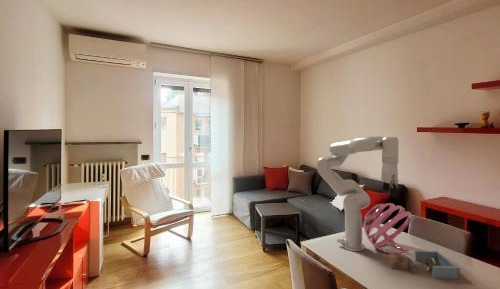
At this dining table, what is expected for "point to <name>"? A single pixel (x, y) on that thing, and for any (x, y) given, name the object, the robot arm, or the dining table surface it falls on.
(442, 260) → the box
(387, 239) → the spiral basket
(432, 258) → the eagle figurine
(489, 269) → the dining table surface
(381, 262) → the dining table surface
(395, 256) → the brown grey block
